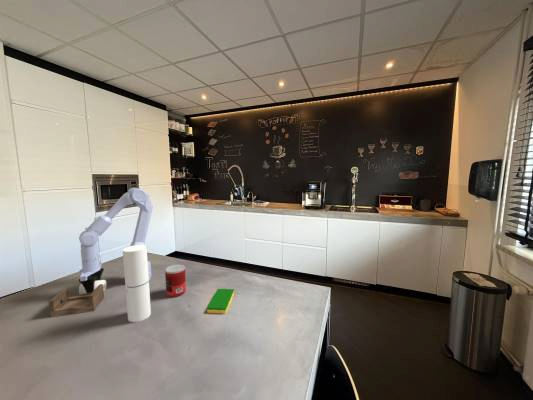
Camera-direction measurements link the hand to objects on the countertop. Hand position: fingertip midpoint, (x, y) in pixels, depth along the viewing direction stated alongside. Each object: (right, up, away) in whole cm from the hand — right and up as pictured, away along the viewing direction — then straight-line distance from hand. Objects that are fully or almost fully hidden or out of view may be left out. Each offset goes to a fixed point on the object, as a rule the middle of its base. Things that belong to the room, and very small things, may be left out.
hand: (93, 289), depth 94 cm
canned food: (+35, -2, 0) cm, 35 cm away
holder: (+2, -3, -10) cm, 11 cm away
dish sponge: (+56, -3, -7) cm, 57 cm away
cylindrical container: (+29, -3, -15) cm, 33 cm away
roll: (0, +1, 0) cm, 1 cm away
